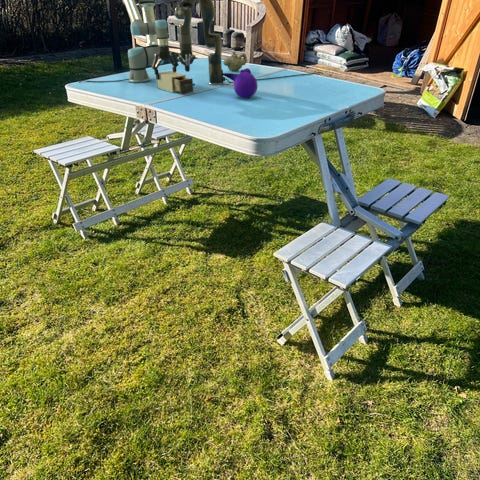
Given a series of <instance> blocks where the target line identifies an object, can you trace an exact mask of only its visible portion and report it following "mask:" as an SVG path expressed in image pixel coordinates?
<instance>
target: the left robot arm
mask: <svg viewBox="0 0 480 480" xmlns="http://www.w3.org/2000/svg"><path fill="white" fill-rule="evenodd" d="M121 2H122V4H123V6H124V7H125V9H126V11H127V13H128V14H127V15H128V17H129V20H130V23H131V24H130V33H131V35H132V36H134V37H135V36H137V37H139V36H145V39H146V40H145V41H146V45H145V46H144V47H145V48H144V47H143V46H137V47H132V48H130V49H127V58H128V64H129V65H128V66H129V76H128V78H124V79H119V80H117V79H116V80H86V79H85V80H84V79H82V80H79V81H78V82H79V83H78V84H80V83H81V82H86V83H87V82H88V83H115V82H117V83H118V82H125V81H128V82H129V83H133V84H141V83H148V82H150V76H149V74H148V71H147V66H151V69H152V70H153V71H154V75H155V79H156V80H159V73H160V72H159V67H160V66H161V65H163V64H164V63H165V61H168V62H169V63H170V64H171V65H172V67H171V68H172V72H176V73H177V67H179V63H178V59H177V57H175V54H174V52H173V51H170V45H169V33H168V23H167V22H168V21H167V20H166V19H156V16H155V10H154V7H155V5H156V3H157V0H121ZM137 4H138V5H137ZM138 7H139V8H140V9H141V13H142V15H141V13H140V10H139V8H138Z"/></svg>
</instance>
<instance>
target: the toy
mask: <svg viewBox="0 0 480 480" xmlns="http://www.w3.org/2000/svg"><path fill="white" fill-rule="evenodd" d="M222 75H223V77H225V78H227V79H228V80H231V81H232V82H234V83H233V90H234V92H235V94H236V95H237V96H238V97H239V98H242V99H250V98H252V97H253V96H254V95H255V94H256V92H257V91H258V80H256V79H257V78H256V77H255V75H254V74H252V71H251V69H250V68H248V67H246V68H243V69H240V70H239V73H233V72H223V73H222Z"/></svg>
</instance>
